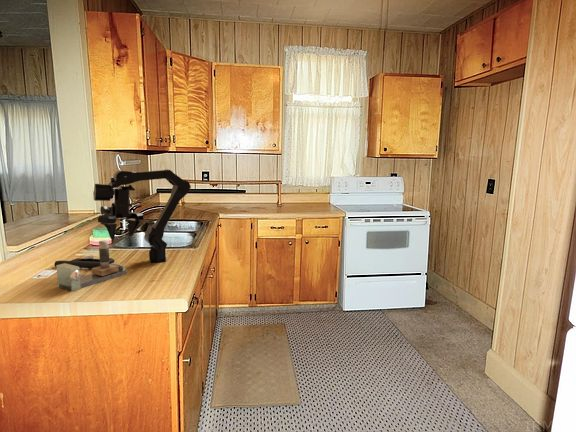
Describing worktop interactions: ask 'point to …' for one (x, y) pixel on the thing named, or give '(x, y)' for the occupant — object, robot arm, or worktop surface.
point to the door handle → (84, 262)
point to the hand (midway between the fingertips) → (121, 237)
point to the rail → (73, 281)
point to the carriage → (104, 261)
